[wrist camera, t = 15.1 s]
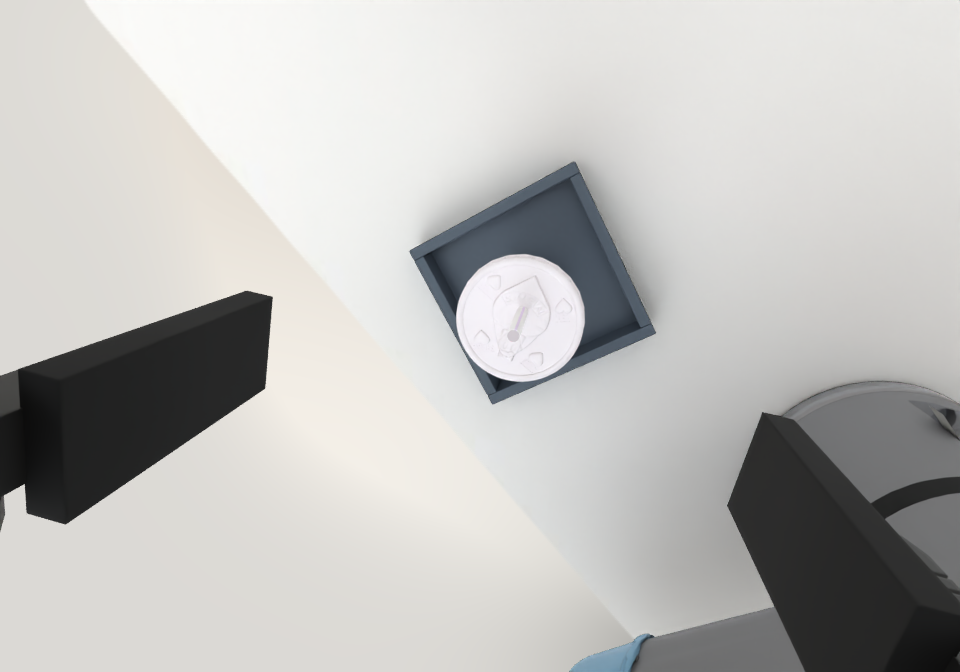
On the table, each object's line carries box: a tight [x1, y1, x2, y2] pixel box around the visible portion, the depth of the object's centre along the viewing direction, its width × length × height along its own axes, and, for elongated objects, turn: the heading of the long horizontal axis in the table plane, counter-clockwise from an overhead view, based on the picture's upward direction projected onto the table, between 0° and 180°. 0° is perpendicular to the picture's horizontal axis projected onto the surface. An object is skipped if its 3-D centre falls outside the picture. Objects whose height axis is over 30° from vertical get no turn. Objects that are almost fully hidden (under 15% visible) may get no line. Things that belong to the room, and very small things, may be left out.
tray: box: [410, 162, 656, 404], centre depth 36 cm, size 11×11×2 cm
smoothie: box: [456, 254, 585, 382], centre depth 30 cm, size 6×6×14 cm
